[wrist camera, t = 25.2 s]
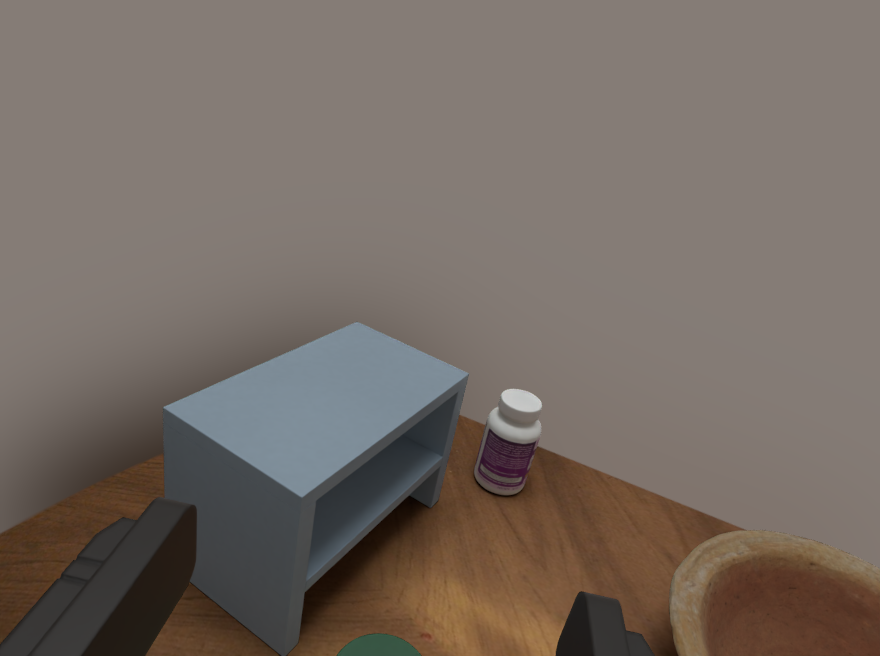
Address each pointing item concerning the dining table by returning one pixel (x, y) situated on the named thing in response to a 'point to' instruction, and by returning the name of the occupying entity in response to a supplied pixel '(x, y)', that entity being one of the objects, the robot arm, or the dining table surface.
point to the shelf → (305, 465)
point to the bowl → (774, 598)
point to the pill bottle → (509, 443)
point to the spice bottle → (378, 646)
